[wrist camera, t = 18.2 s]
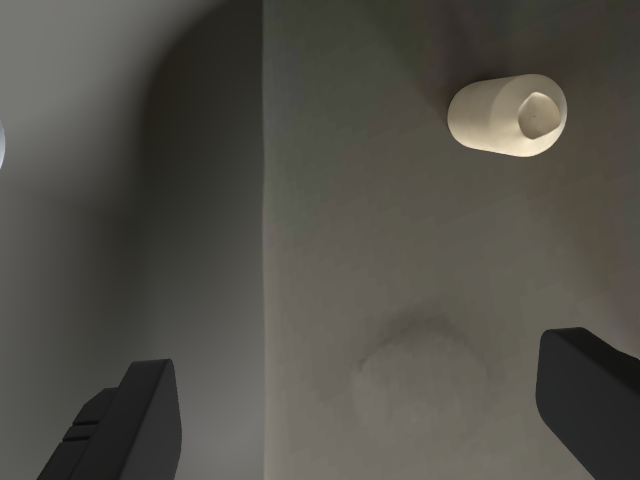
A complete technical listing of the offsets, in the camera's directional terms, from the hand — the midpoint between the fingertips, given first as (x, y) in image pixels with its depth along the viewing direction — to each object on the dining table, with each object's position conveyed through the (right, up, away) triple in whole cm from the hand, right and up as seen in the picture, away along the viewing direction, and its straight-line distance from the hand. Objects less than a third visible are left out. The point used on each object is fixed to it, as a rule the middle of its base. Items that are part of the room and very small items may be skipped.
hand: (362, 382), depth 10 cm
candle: (+13, +14, +31) cm, 36 cm away
